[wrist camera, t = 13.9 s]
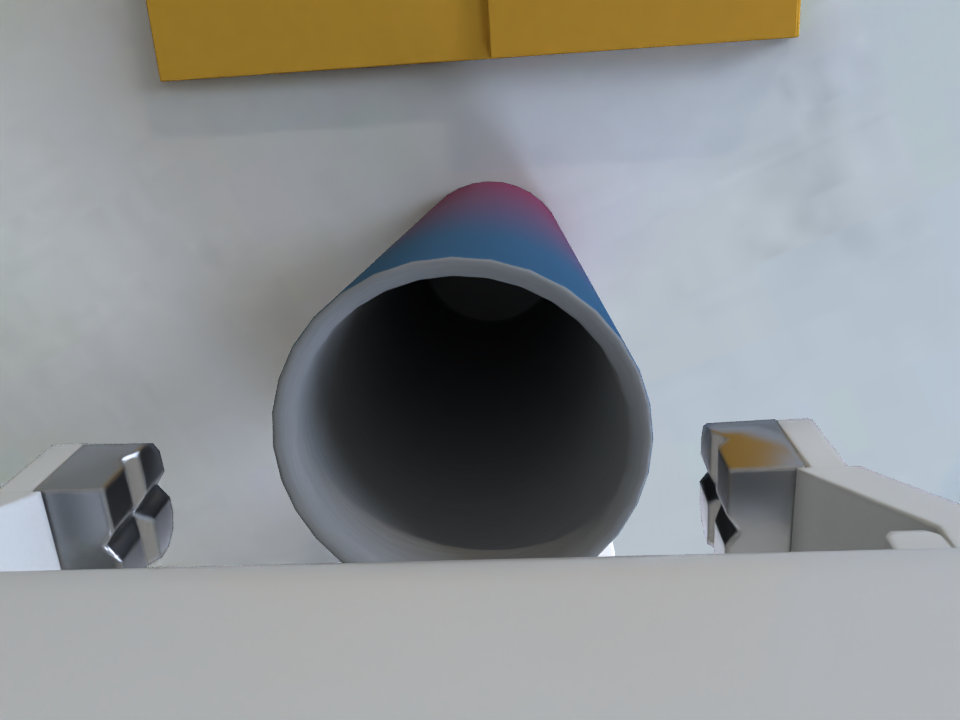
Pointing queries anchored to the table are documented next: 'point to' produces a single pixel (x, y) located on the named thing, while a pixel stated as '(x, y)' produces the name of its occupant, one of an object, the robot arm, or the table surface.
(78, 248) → the table surface
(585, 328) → the cup
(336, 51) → the cloth
